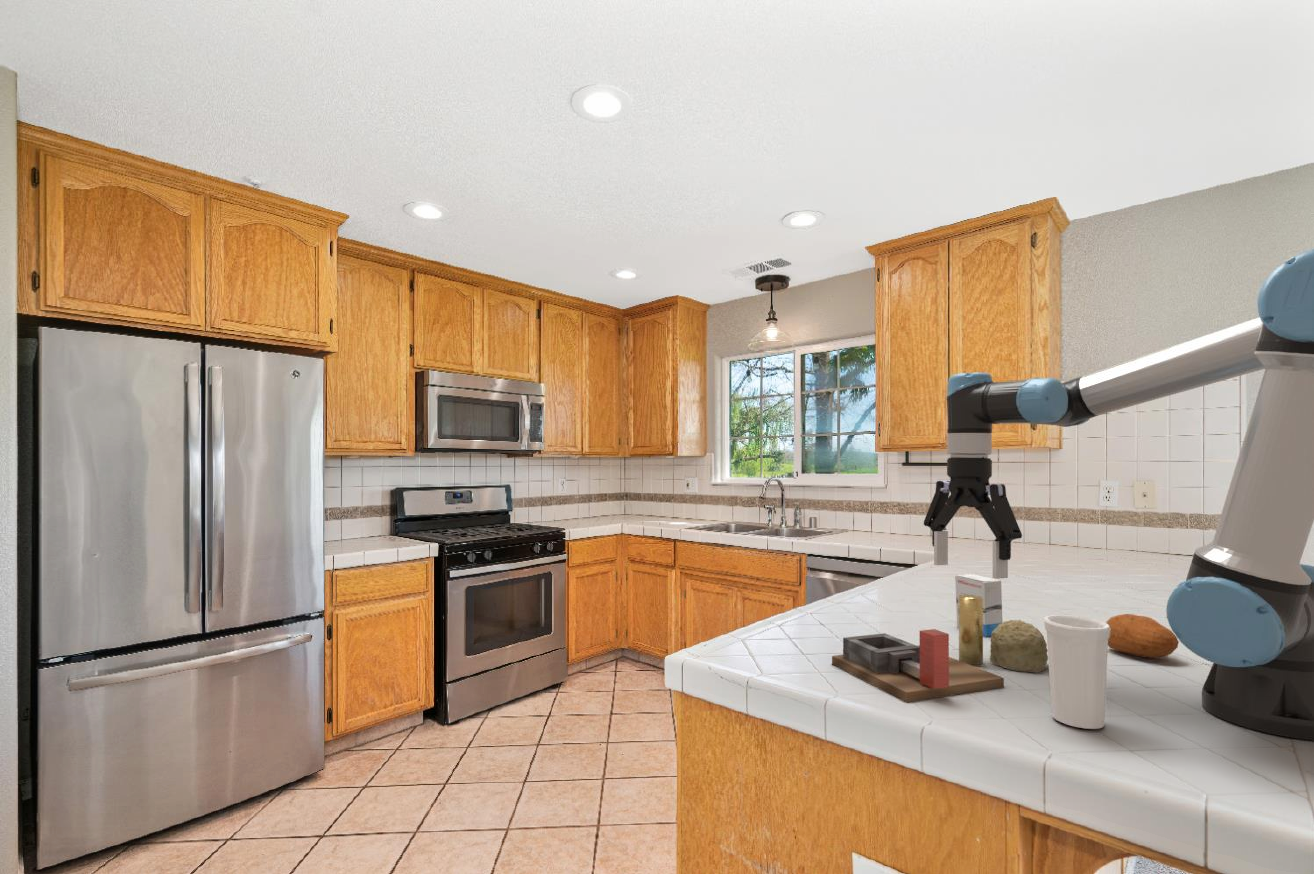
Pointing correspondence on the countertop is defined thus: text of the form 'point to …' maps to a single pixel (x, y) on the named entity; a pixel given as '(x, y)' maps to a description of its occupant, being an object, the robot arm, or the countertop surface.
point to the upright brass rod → (971, 629)
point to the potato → (1140, 636)
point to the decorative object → (1018, 647)
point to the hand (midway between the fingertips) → (968, 571)
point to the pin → (930, 660)
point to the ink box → (990, 595)
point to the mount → (880, 668)
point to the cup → (1077, 669)
